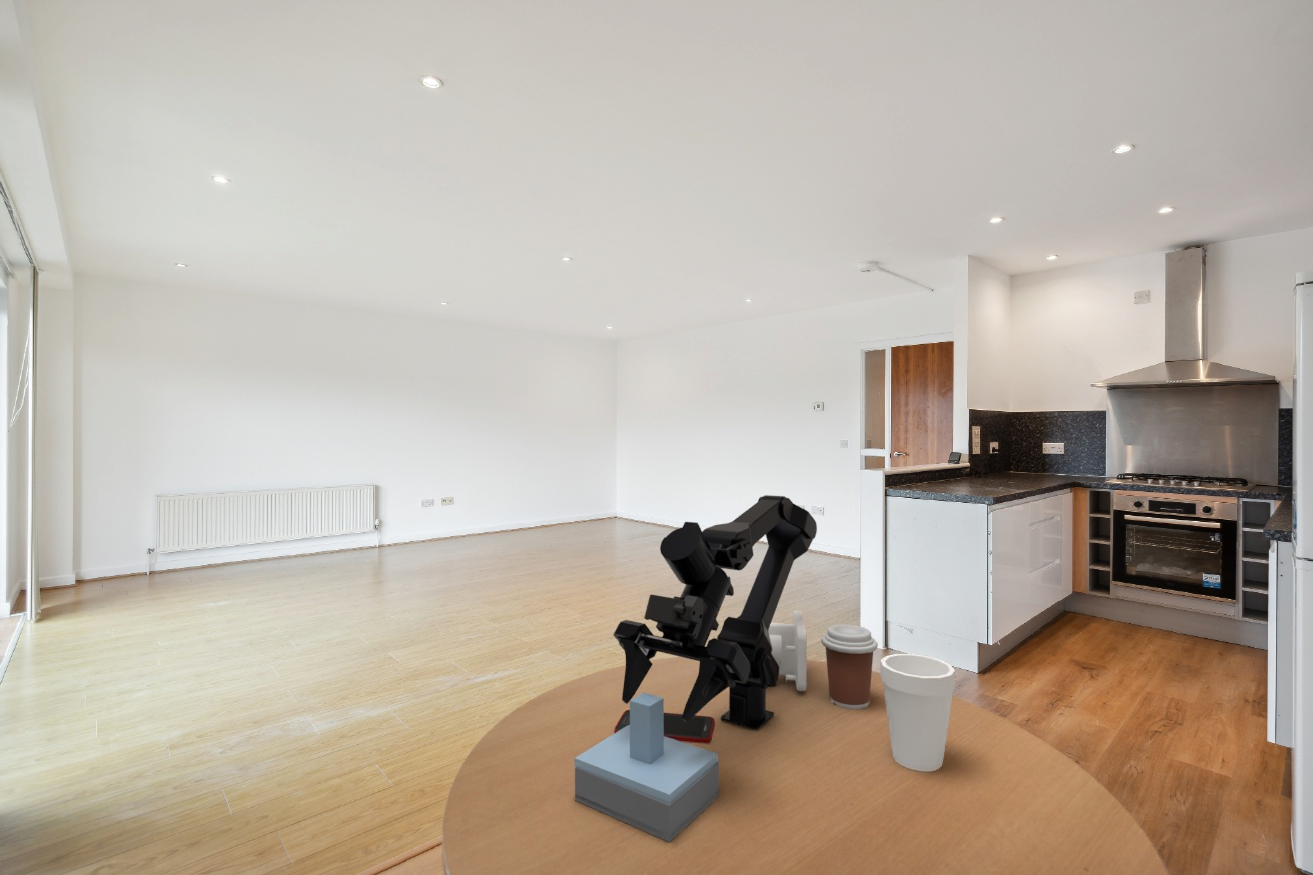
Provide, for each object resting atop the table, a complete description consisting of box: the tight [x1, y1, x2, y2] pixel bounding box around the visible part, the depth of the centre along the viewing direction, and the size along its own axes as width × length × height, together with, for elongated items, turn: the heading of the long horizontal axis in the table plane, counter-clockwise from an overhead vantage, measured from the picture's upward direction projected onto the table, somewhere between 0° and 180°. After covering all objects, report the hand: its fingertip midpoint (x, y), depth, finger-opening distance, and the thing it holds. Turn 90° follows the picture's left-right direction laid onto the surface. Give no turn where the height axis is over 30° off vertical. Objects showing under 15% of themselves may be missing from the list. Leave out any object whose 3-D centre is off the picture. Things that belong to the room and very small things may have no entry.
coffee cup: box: [821, 623, 879, 710], centre depth 106 cm, size 9×9×12 cm
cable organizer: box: [768, 610, 808, 692], centre depth 115 cm, size 15×11×12 cm
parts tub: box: [574, 762, 720, 843], centre depth 77 cm, size 11×14×4 cm
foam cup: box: [880, 653, 956, 773], centre depth 86 cm, size 10×9×13 cm
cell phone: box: [613, 709, 716, 744], centre depth 96 cm, size 8×15×1 cm, turn 79°
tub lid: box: [574, 692, 719, 804], centre depth 77 cm, size 11×14×8 cm
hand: (653, 710), depth 78 cm, fingers open, 9 cm apart
